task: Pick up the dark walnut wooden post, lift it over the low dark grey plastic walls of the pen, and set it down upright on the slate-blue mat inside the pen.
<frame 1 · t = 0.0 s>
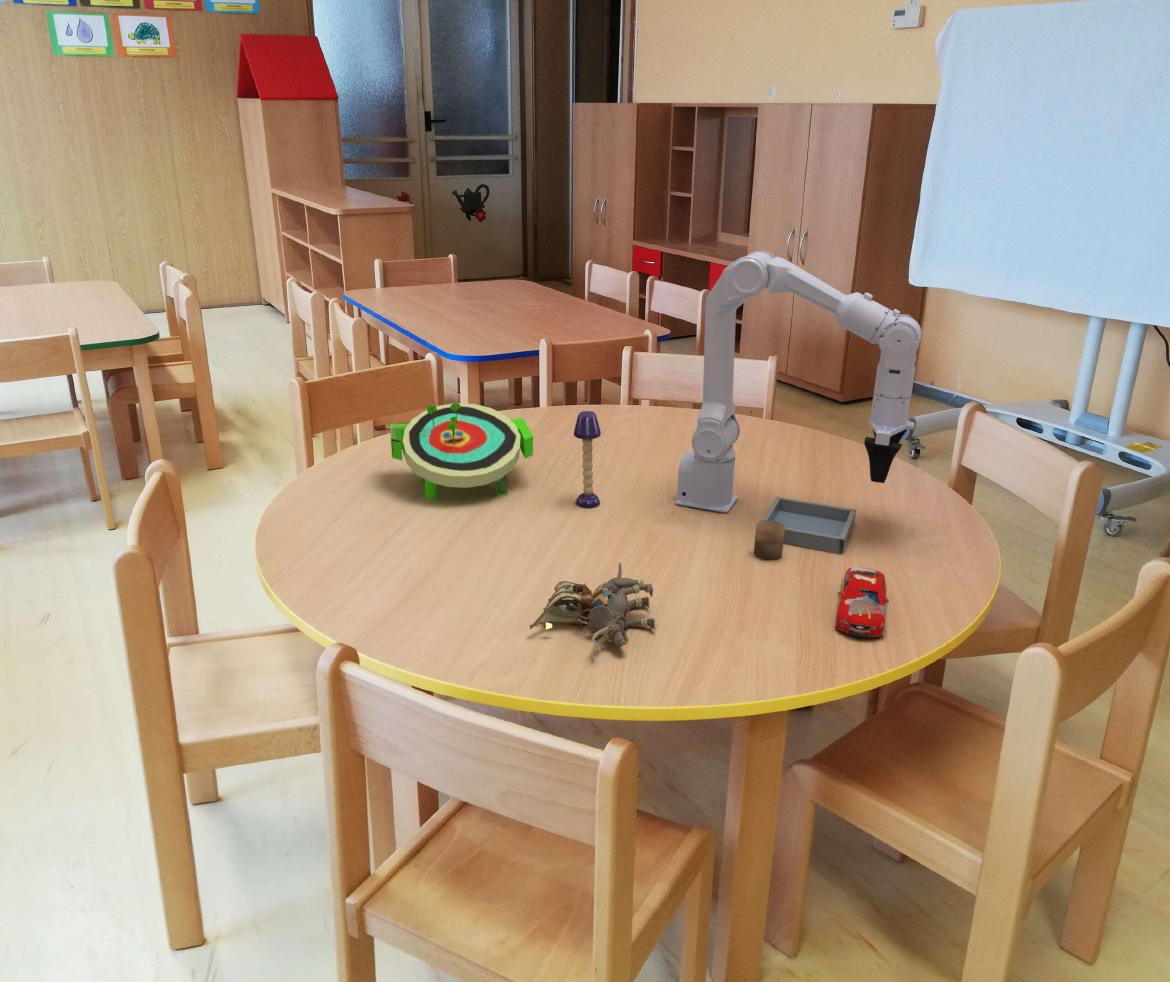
hand: (880, 474, 154), 10 cm above the table, tool pointing down, fingers open, 7 cm apart
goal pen: (807, 530, 157), on the table
race car: (859, 615, 131), on the table
figurine: (591, 626, 126), on the table
walnut post: (767, 554, 148), on the table
toy lamp: (586, 504, 166), on the table
dartboard: (463, 489, 171), on the table
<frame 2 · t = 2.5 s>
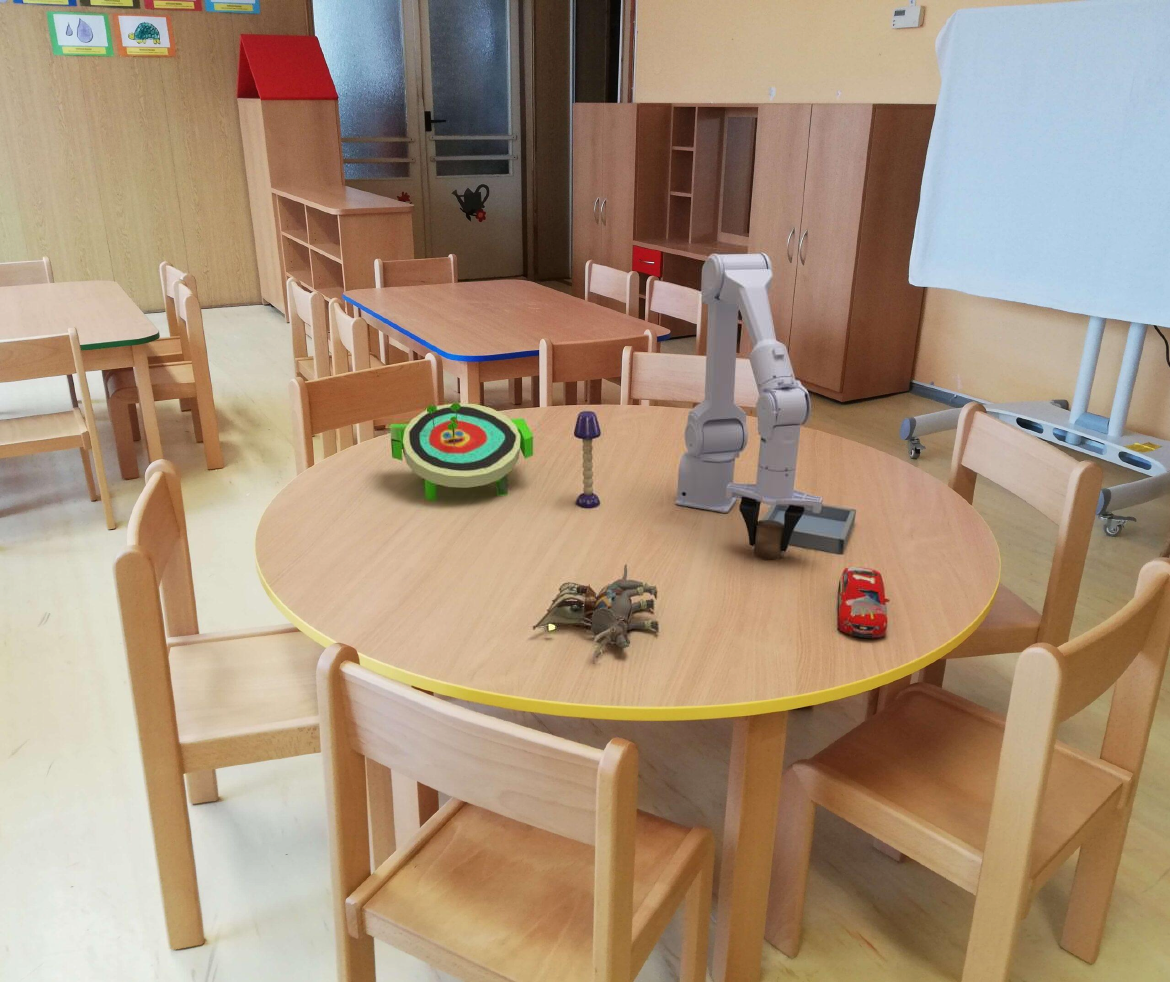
hand: (768, 546, 147), 1 cm above the table, tool pointing down, fingers closed on walnut post, 4 cm apart
walnut post: (767, 554, 148), on the table, touching gripper
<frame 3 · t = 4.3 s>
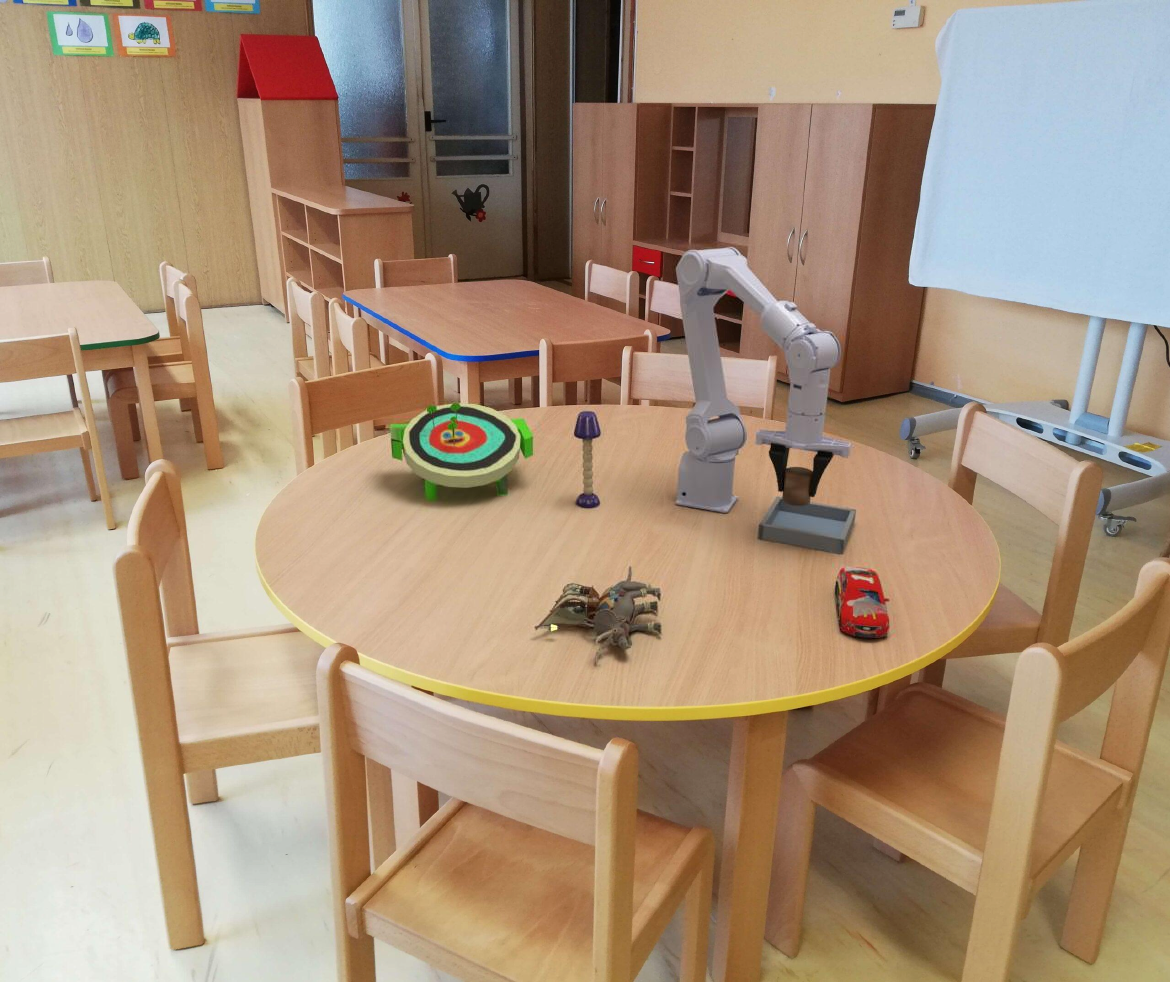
hand: (797, 492, 150), 8 cm above the table, tool pointing down, fingers closed on walnut post, 4 cm apart
walnut post: (795, 500, 151), point 7 cm above the table, touching gripper
when the fingers open (3 cm above the table, at t = 6.6 s): walnut post drops 1 cm, resting on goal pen.
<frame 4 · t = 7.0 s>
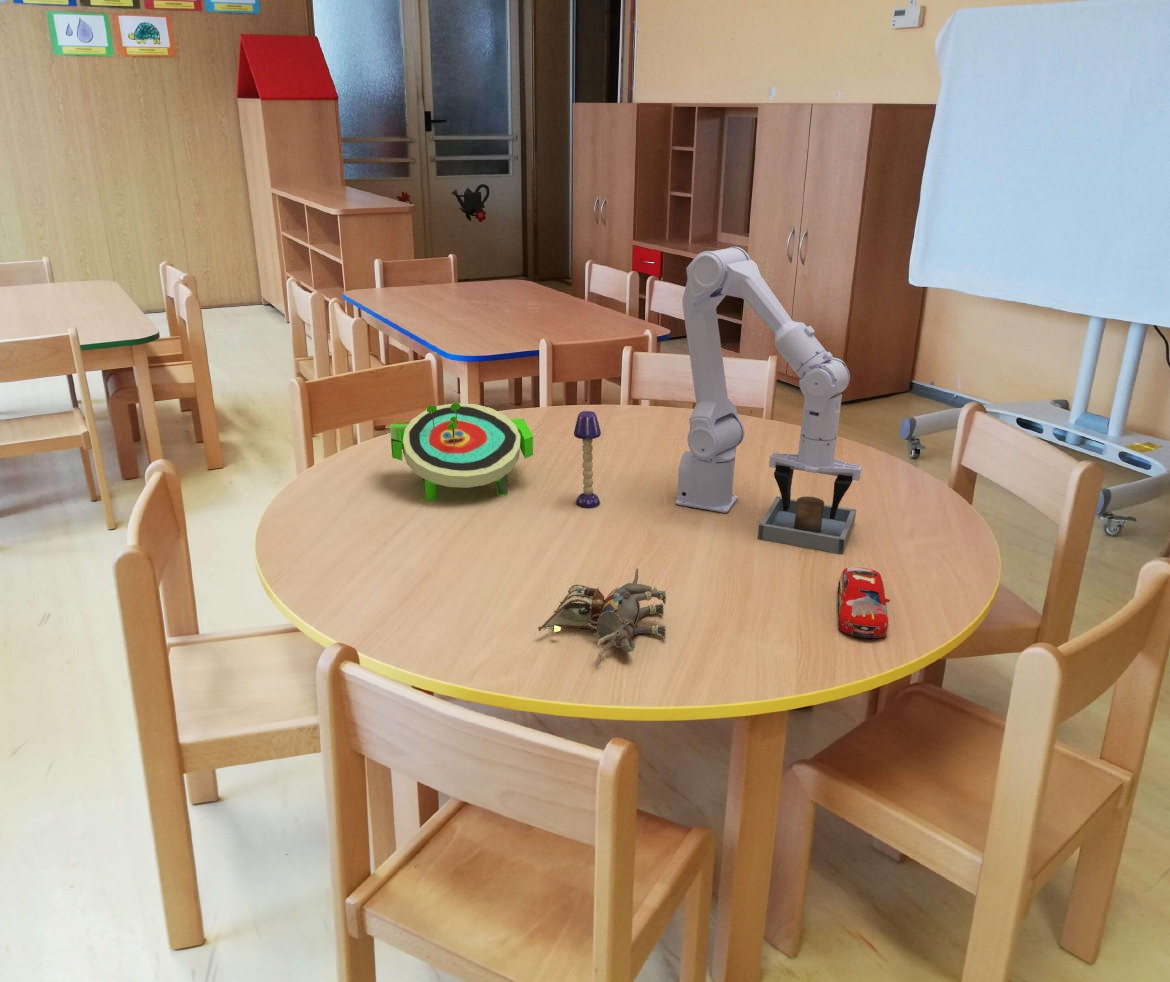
hand: (809, 513, 155), 3 cm above the table, tool pointing down, fingers open, 7 cm apart
walnut post: (807, 529, 157), resting on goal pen
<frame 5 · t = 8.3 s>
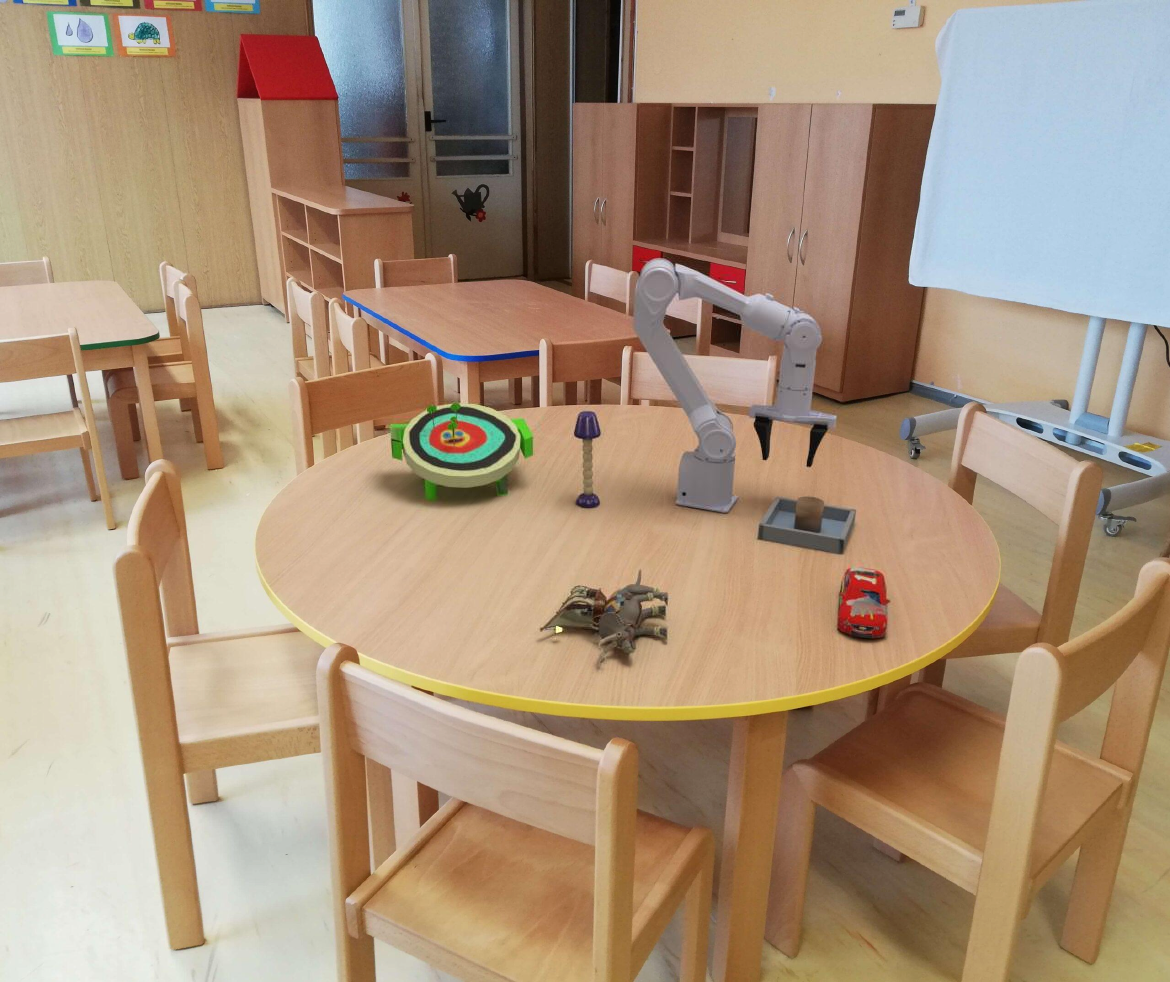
hand: (787, 462, 163), 8 cm above the table, tool pointing down, fingers open, 7 cm apart
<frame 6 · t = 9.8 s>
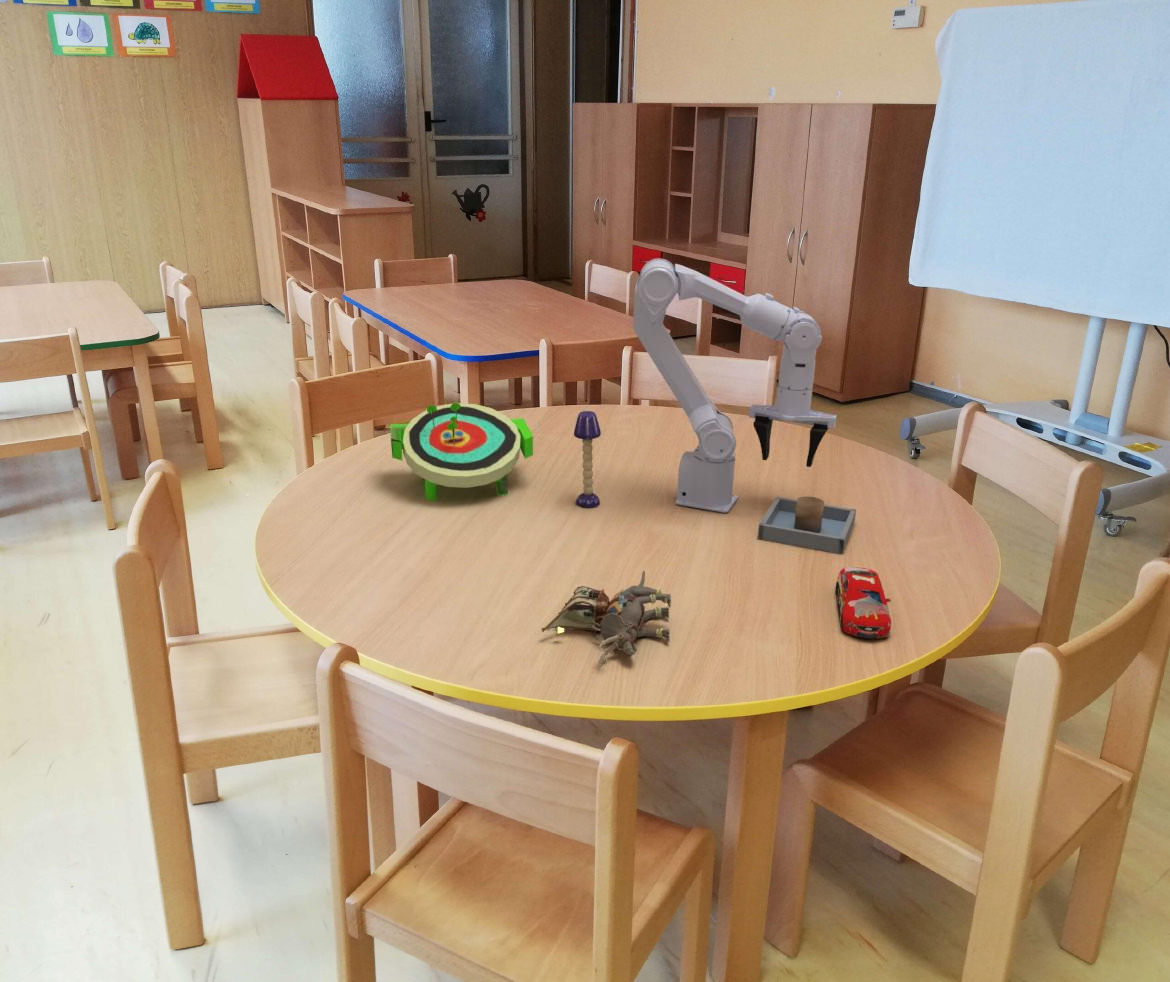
hand: (787, 461, 163), 8 cm above the table, tool pointing down, fingers open, 7 cm apart
at the end: walnut post 0.0 cm off-centre on the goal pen, point 0.3 cm above the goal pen's base; walnut post tilted 0°; the gripper is holding nothing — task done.
